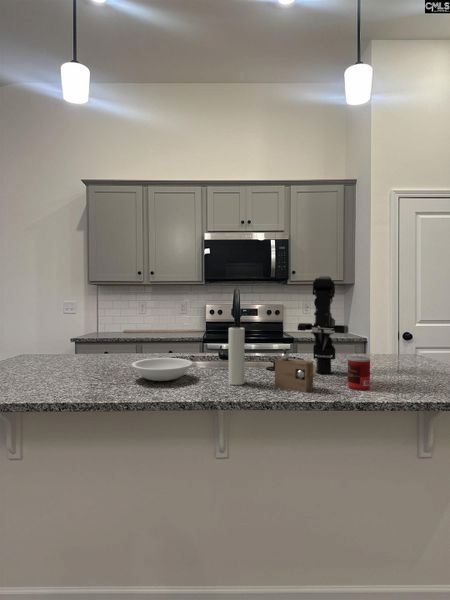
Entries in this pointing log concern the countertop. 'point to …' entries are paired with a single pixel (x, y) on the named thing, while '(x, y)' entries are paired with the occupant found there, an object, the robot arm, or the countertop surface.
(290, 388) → the mount
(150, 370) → the soup bowl
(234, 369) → the paper towel roll
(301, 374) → the knob
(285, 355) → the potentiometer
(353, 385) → the canned food
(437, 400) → the countertop surface
